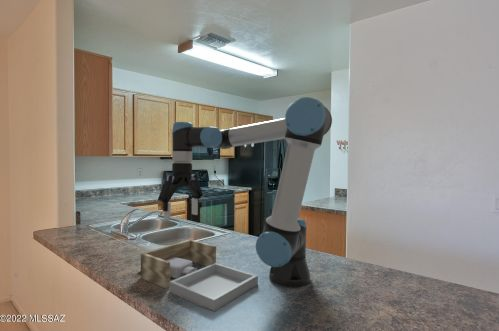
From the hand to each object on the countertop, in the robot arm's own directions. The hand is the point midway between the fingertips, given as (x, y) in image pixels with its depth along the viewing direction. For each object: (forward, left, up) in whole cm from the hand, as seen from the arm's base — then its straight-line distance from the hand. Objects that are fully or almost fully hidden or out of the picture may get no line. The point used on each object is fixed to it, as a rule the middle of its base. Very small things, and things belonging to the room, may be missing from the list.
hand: (181, 217), depth 112 cm
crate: (+1, 0, -22) cm, 22 cm away
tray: (-20, +2, -22) cm, 30 cm away
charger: (-1, +1, -22) cm, 22 cm away
